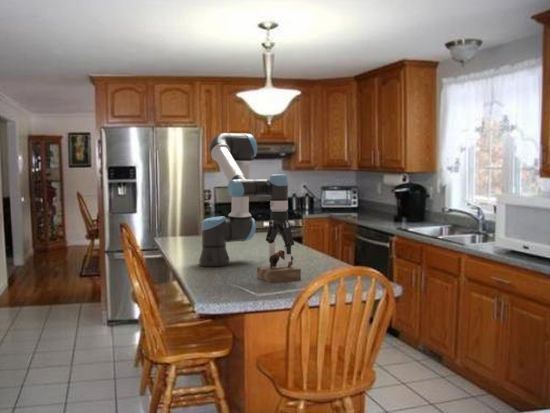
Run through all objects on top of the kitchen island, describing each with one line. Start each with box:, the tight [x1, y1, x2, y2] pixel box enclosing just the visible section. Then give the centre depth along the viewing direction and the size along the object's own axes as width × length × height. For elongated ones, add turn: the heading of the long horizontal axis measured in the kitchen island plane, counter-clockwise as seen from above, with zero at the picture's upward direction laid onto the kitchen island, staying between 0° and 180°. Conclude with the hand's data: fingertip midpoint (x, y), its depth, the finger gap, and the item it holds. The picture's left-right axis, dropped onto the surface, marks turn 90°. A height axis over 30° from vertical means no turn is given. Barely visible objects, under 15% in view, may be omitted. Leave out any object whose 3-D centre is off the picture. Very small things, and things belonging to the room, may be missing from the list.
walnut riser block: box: [256, 264, 302, 284], centre depth 242 cm, size 14×14×5 cm
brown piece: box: [268, 249, 294, 268], centre depth 241 cm, size 12×9×8 cm
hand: (279, 259), depth 242 cm, fingers open, 13 cm apart
